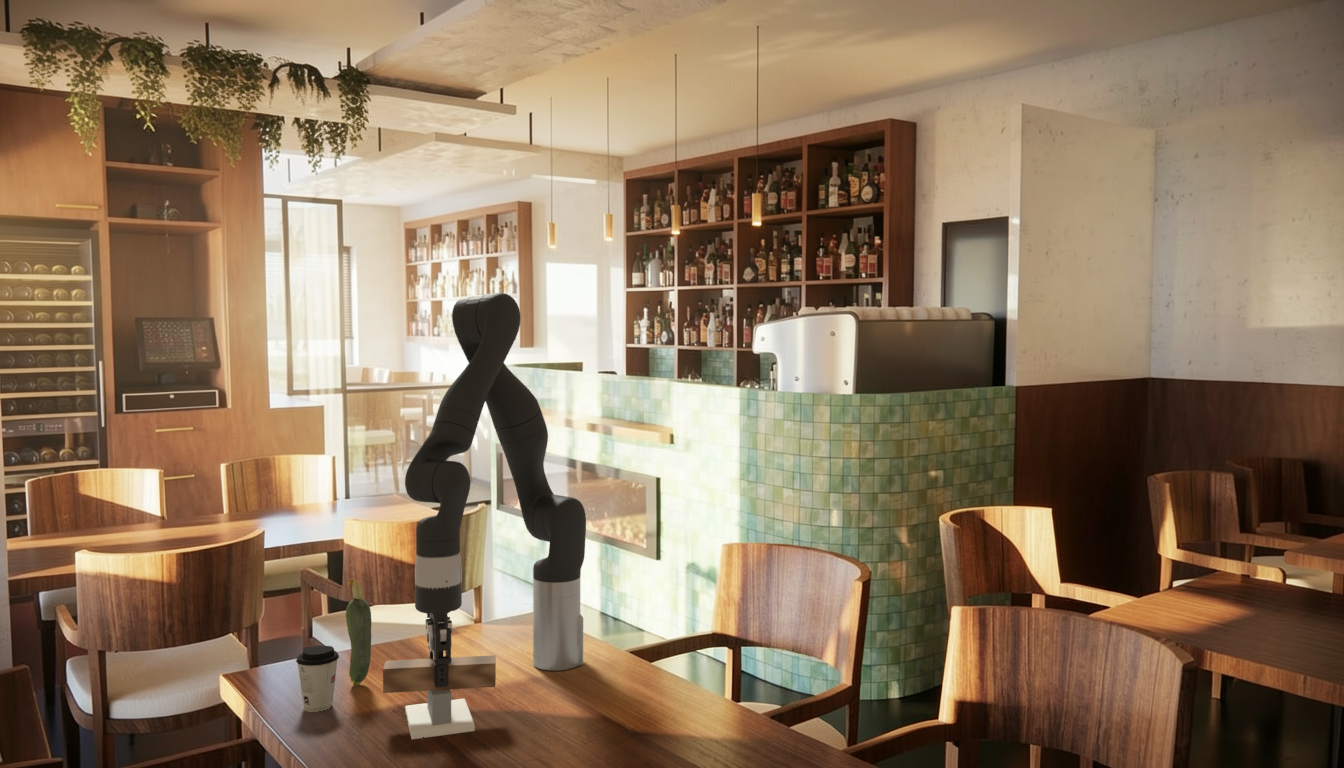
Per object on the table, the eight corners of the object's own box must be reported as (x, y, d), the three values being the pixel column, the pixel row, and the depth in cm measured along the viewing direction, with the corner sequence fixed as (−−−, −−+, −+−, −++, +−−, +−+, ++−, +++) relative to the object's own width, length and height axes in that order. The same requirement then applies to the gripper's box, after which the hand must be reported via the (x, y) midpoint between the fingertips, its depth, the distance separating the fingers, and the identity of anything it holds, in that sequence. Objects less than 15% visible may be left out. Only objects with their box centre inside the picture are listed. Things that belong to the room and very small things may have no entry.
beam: (495, 678, 162) (495, 655, 161) (495, 686, 158) (495, 663, 158) (386, 684, 159) (386, 660, 158) (383, 693, 155) (382, 669, 154)
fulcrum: (464, 704, 166) (464, 670, 165) (474, 730, 155) (474, 694, 154) (405, 711, 162) (405, 676, 162) (411, 739, 151) (411, 702, 151)
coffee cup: (298, 717, 159) (298, 659, 159) (294, 703, 166) (293, 647, 165) (342, 710, 163) (341, 653, 162) (336, 696, 169) (335, 641, 168)
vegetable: (375, 682, 176) (374, 575, 175) (365, 690, 172) (364, 581, 171) (352, 681, 176) (351, 574, 175) (342, 689, 172) (341, 580, 171)
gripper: (467, 589, 152) (467, 691, 153) (455, 568, 165) (456, 662, 166) (419, 593, 149) (419, 697, 150) (411, 571, 163) (411, 667, 164)
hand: (438, 678), depth 158 cm, fingers open, 6 cm apart
